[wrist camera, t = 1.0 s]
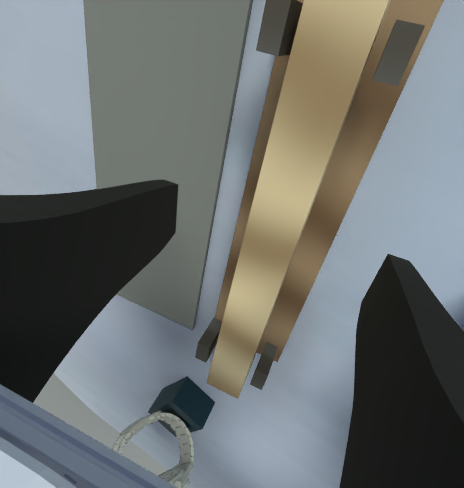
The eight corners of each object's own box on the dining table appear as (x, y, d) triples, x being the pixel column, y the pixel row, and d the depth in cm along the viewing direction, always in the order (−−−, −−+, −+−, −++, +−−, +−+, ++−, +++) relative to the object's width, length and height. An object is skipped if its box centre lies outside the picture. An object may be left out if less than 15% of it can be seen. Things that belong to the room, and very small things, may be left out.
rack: (281, 350, 27) (258, 418, 22) (217, 321, 28) (183, 379, 23) (470, -64, 12) (531, -142, 7) (315, -87, 13) (276, -167, 8)
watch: (200, 422, 39) (147, 530, 30) (152, 378, 38) (83, 477, 29) (227, 413, 35) (177, 533, 27) (176, 365, 34) (106, 472, 26)
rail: (249, 370, 24) (237, 398, 22) (220, 356, 24) (206, 383, 22) (415, -63, 10) (422, -90, 8) (339, -75, 10) (330, -103, 8)
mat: (194, 327, 30) (192, 330, 30) (106, 285, 32) (103, 288, 32) (282, -164, 12) (279, -169, 12) (76, -184, 15) (69, -189, 14)
